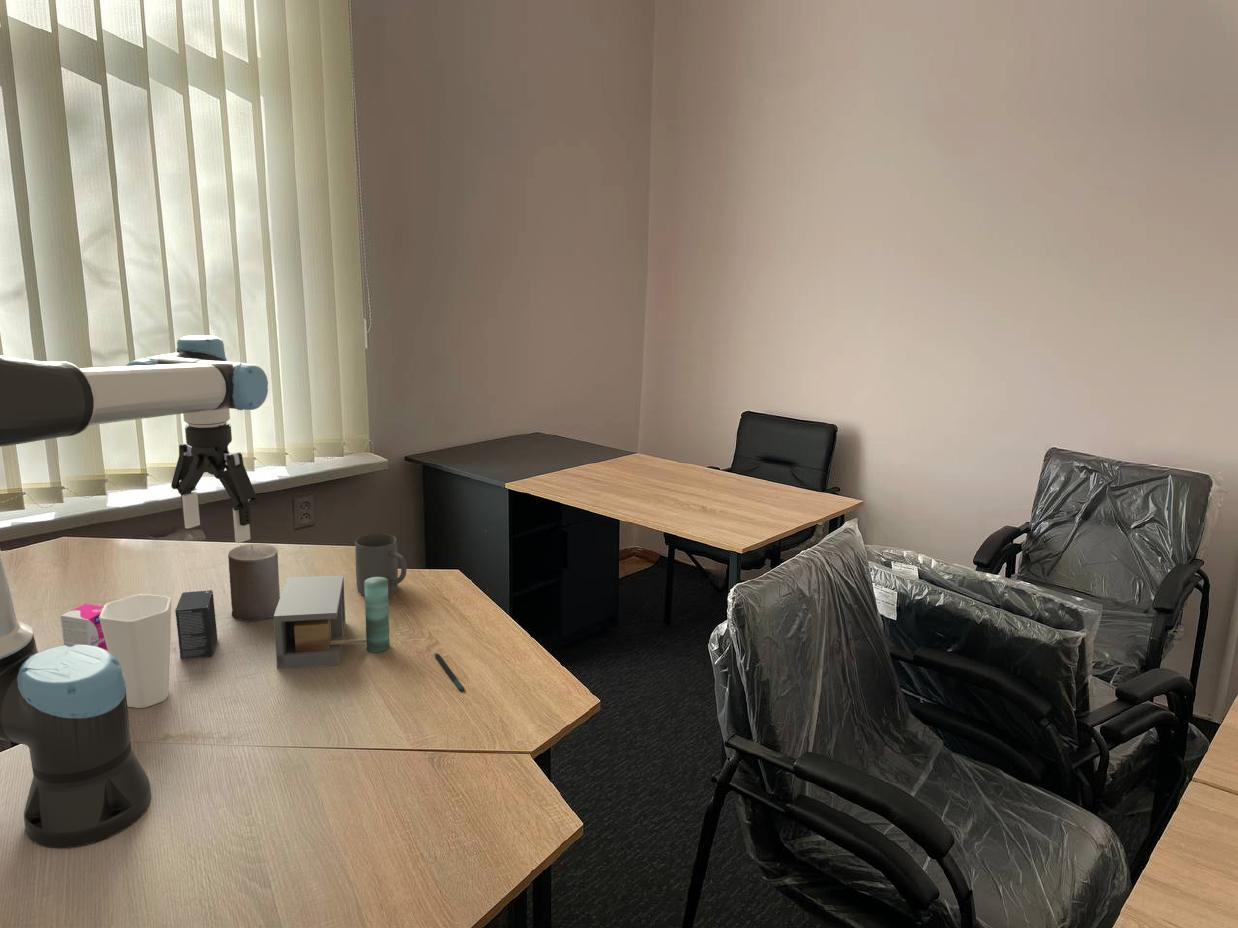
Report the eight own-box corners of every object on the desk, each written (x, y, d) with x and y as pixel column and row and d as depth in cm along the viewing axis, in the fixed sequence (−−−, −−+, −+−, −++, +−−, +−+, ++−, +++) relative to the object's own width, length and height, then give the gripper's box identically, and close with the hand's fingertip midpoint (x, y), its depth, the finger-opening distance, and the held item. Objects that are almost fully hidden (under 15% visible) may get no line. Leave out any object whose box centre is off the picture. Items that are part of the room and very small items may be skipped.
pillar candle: (221, 617, 181) (216, 550, 177) (251, 598, 190) (247, 534, 186) (262, 624, 179) (258, 557, 174) (290, 605, 188) (287, 541, 184)
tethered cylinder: (389, 653, 169) (387, 586, 165) (296, 659, 165) (292, 591, 161) (390, 639, 175) (388, 574, 171) (299, 644, 171) (296, 578, 167)
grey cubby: (338, 664, 164) (336, 612, 161) (277, 668, 161) (273, 616, 159) (345, 622, 181) (343, 575, 178) (289, 625, 178) (286, 577, 176)
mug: (348, 590, 196) (346, 541, 193) (378, 578, 204) (377, 530, 201) (391, 606, 189) (389, 555, 186) (420, 592, 197) (420, 543, 194)
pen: (438, 655, 170) (437, 650, 170) (465, 692, 157) (465, 686, 157) (432, 656, 170) (432, 651, 169) (459, 694, 157) (459, 688, 156)
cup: (118, 685, 153) (107, 596, 149) (182, 677, 157) (173, 590, 152) (106, 718, 143) (94, 624, 139) (175, 709, 147) (165, 617, 142)
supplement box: (94, 678, 155) (86, 619, 152) (66, 673, 156) (57, 615, 153) (118, 662, 161) (111, 606, 158) (90, 658, 162) (83, 602, 159)
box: (186, 641, 170) (181, 591, 167) (218, 638, 172) (213, 589, 169) (179, 660, 163) (174, 608, 160) (212, 657, 164) (208, 606, 162)
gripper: (274, 428, 153) (281, 540, 159) (179, 409, 164) (189, 515, 170) (238, 436, 147) (247, 553, 153) (143, 416, 158) (154, 526, 163)
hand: (217, 533), depth 161 cm, fingers open, 13 cm apart
